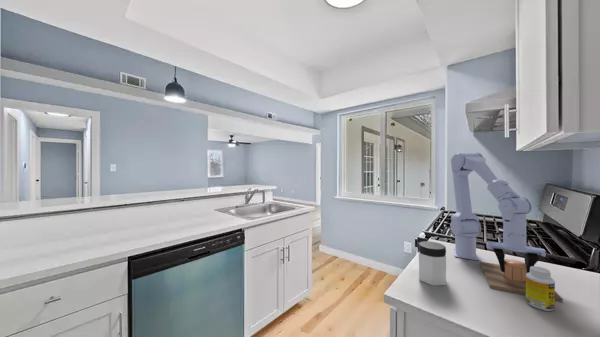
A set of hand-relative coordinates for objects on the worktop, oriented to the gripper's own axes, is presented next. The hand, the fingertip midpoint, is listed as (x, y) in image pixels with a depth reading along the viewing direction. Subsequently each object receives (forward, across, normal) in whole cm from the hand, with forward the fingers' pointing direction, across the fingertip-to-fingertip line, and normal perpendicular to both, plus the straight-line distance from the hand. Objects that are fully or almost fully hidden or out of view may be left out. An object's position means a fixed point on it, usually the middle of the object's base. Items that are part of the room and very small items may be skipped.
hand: (514, 273), depth 78 cm
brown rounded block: (+1, 0, 0) cm, 1 cm away
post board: (+2, 0, 0) cm, 2 cm away
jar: (+3, -24, -13) cm, 27 cm away
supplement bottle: (+3, +2, -15) cm, 15 cm away
